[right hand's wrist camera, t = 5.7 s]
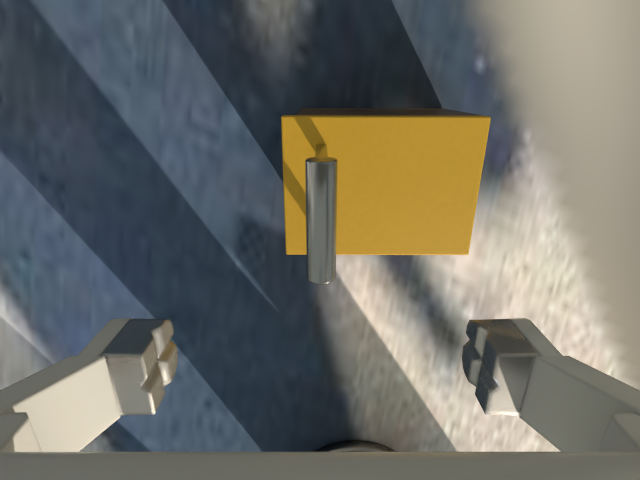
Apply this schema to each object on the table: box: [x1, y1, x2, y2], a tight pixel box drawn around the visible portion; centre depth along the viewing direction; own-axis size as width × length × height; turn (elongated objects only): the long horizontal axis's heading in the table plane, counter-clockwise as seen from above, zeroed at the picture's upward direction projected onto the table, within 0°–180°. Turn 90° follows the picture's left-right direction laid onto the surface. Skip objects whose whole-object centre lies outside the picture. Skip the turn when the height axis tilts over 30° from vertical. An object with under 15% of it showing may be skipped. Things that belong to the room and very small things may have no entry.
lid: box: [281, 115, 491, 284], centre depth 23 cm, size 13×10×8 cm
